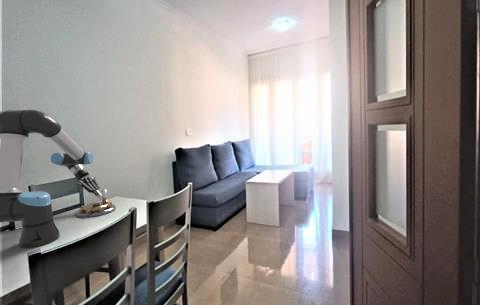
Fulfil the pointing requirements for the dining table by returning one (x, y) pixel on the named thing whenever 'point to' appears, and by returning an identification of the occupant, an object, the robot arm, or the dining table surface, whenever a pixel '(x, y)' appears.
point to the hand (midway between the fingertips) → (102, 198)
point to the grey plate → (95, 213)
